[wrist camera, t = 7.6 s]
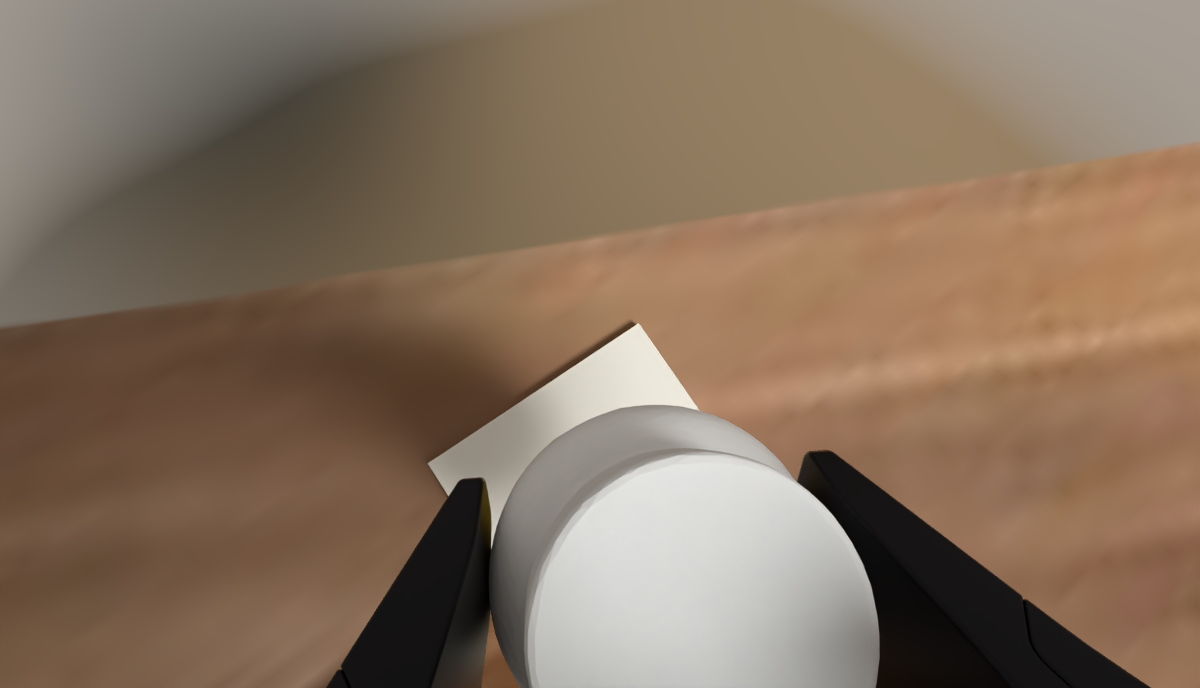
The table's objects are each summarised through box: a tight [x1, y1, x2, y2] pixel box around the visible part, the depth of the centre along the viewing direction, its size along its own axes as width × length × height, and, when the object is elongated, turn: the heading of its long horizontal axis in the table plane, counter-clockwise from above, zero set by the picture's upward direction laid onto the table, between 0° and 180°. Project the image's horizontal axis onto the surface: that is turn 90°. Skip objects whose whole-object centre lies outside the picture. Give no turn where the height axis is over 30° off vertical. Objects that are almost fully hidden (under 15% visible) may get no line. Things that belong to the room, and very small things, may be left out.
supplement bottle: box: [489, 405, 880, 688], centre depth 11 cm, size 5×5×10 cm
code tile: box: [428, 323, 699, 549], centre depth 21 cm, size 9×9×1 cm
